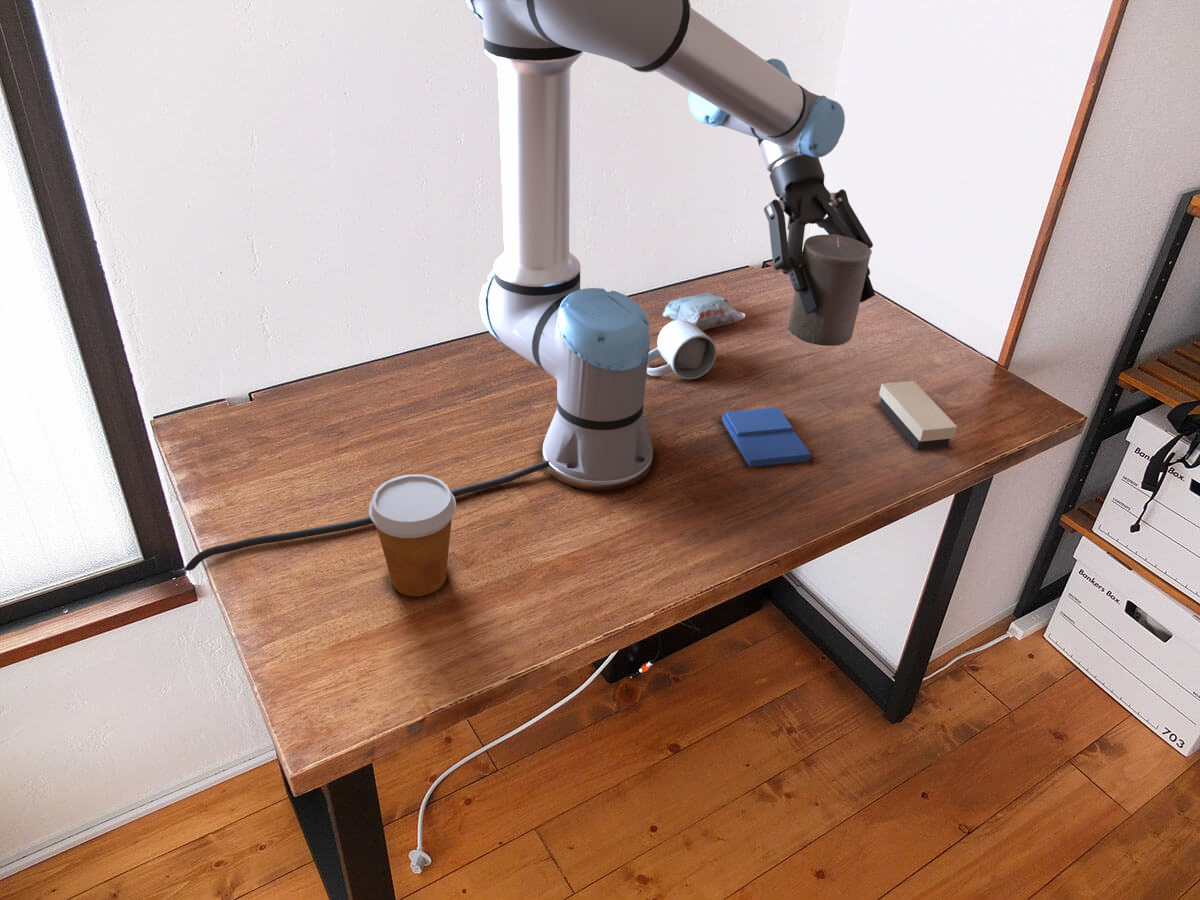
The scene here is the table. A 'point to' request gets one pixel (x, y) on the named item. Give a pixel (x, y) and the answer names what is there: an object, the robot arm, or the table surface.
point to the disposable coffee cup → (414, 531)
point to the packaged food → (703, 311)
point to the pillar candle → (831, 289)
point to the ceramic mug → (683, 351)
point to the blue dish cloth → (765, 437)
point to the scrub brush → (916, 415)
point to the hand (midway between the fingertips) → (841, 304)
